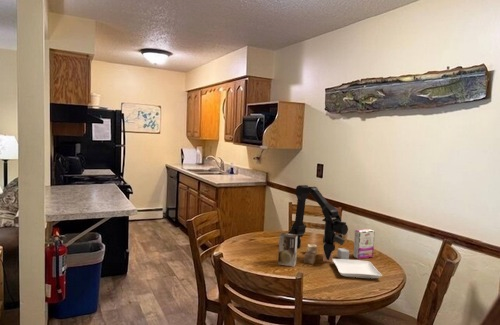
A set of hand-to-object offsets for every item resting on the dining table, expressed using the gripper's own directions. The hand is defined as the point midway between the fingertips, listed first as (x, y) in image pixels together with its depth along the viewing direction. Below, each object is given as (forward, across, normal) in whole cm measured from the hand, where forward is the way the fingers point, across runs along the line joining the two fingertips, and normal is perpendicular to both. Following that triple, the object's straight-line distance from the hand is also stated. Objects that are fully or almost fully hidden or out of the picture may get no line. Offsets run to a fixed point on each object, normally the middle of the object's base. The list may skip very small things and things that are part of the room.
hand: (327, 257), depth 199 cm
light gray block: (+2, +7, -9) cm, 12 cm away
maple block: (+2, +8, +9) cm, 12 cm away
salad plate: (+2, -13, -14) cm, 19 cm away
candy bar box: (+2, +13, -21) cm, 25 cm away
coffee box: (+2, -14, +22) cm, 26 cm away
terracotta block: (+2, 0, 0) cm, 2 cm away
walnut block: (+2, -7, +10) cm, 12 cm away
